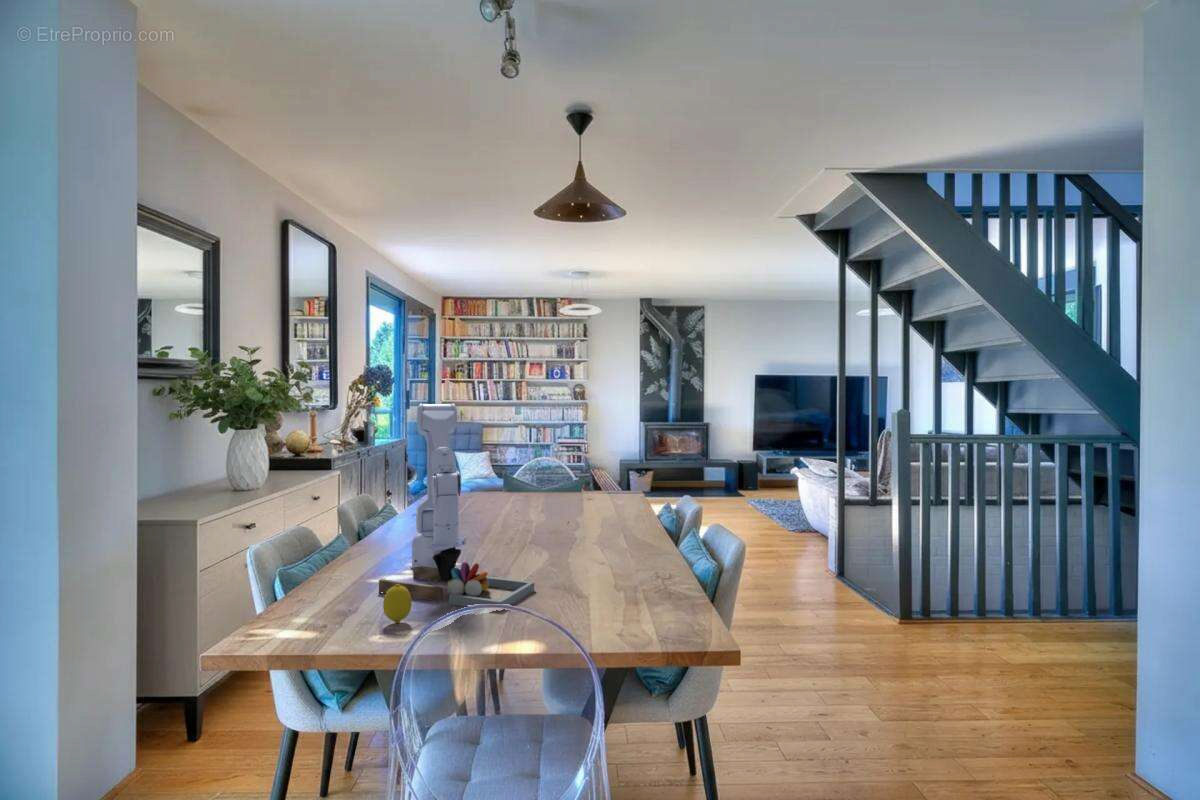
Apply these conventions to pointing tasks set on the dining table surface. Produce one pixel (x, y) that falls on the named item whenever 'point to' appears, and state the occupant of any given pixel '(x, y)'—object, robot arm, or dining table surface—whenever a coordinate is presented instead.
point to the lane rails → (418, 589)
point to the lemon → (397, 603)
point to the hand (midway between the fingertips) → (446, 580)
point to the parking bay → (520, 587)
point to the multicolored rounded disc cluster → (467, 581)
